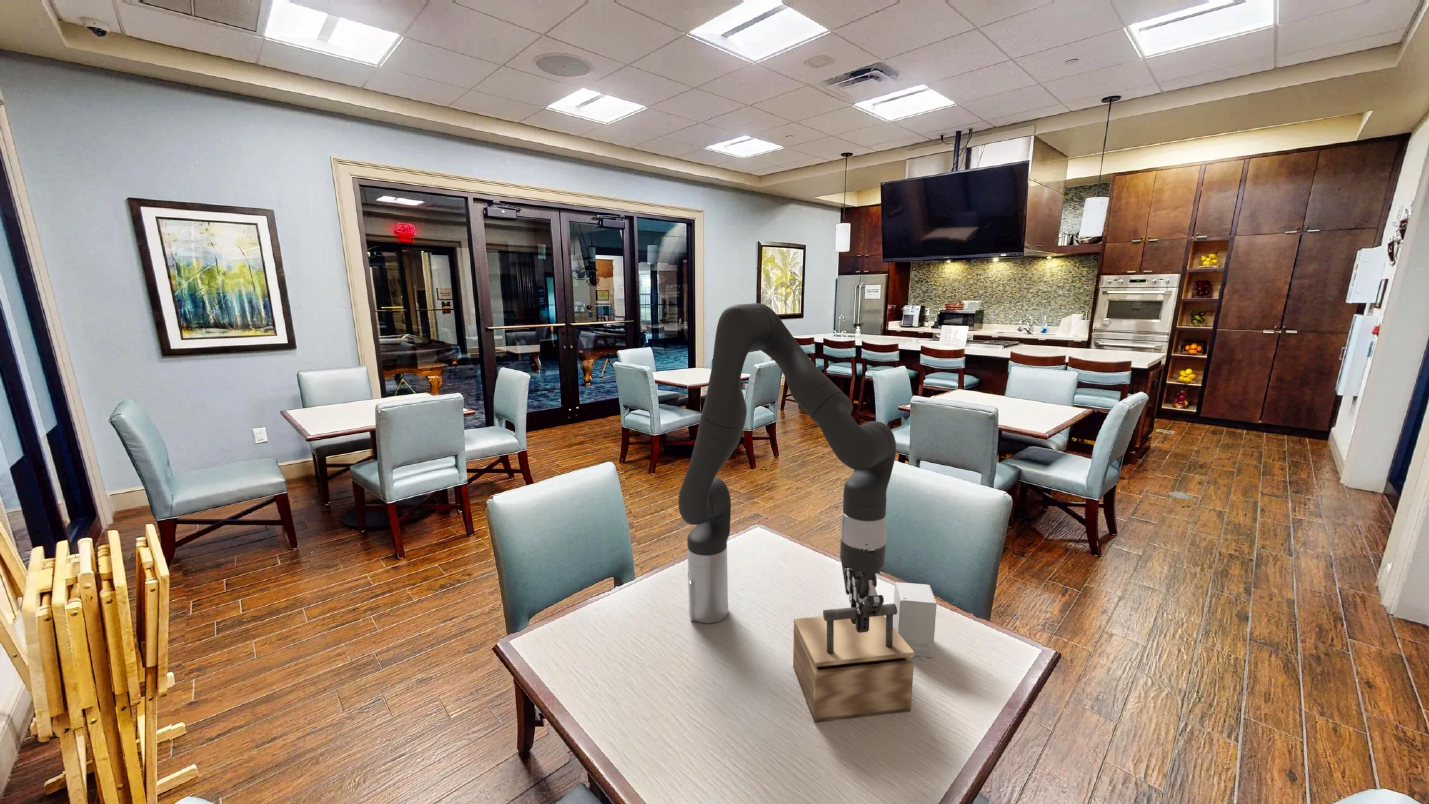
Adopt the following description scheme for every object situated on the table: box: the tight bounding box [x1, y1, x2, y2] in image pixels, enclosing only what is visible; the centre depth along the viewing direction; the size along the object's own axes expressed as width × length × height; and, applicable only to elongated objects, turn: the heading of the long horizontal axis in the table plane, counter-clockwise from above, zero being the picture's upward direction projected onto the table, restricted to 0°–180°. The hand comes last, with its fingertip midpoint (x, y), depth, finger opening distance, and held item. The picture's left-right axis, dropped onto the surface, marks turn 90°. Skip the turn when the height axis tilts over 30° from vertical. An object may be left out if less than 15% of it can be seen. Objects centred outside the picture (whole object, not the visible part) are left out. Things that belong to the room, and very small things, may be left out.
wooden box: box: [792, 623, 915, 724], centre depth 98 cm, size 18×14×10 cm
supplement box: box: [893, 581, 938, 658], centre depth 110 cm, size 7×7×13 cm
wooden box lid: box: [793, 603, 915, 667], centre depth 97 cm, size 18×14×9 cm
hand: (859, 626), depth 92 cm, fingers closed on wooden box lid, 2 cm apart
